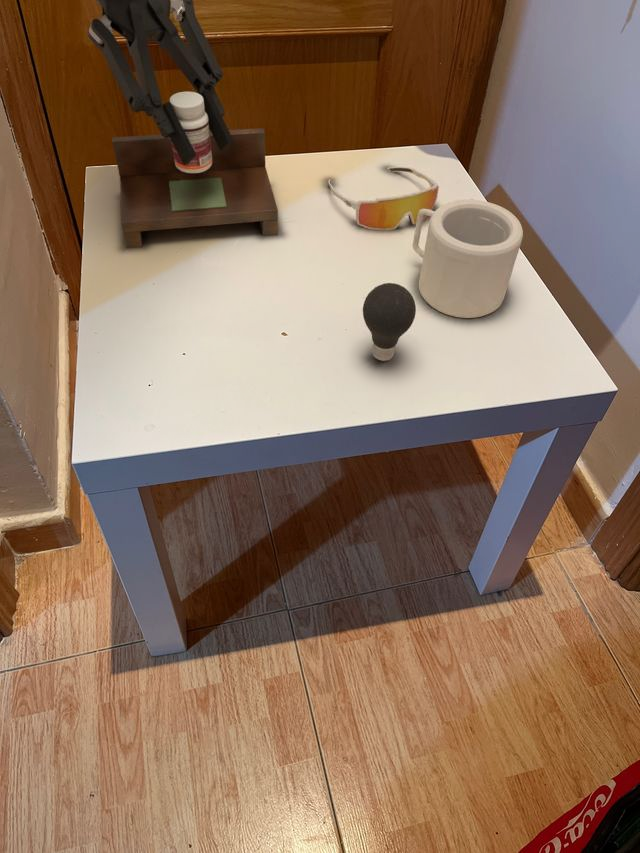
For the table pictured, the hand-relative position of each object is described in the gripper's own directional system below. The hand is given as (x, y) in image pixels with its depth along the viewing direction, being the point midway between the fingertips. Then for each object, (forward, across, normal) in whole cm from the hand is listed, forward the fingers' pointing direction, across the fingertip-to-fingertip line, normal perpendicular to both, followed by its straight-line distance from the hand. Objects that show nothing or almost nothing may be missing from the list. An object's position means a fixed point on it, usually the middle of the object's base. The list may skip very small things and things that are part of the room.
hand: (208, 152), depth 84 cm
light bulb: (+30, -1, +14) cm, 33 cm away
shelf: (+5, 0, -11) cm, 12 cm away
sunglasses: (+14, -23, -2) cm, 27 cm away
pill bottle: (0, 0, -5) cm, 5 cm away
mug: (+28, -16, +11) cm, 34 cm away
